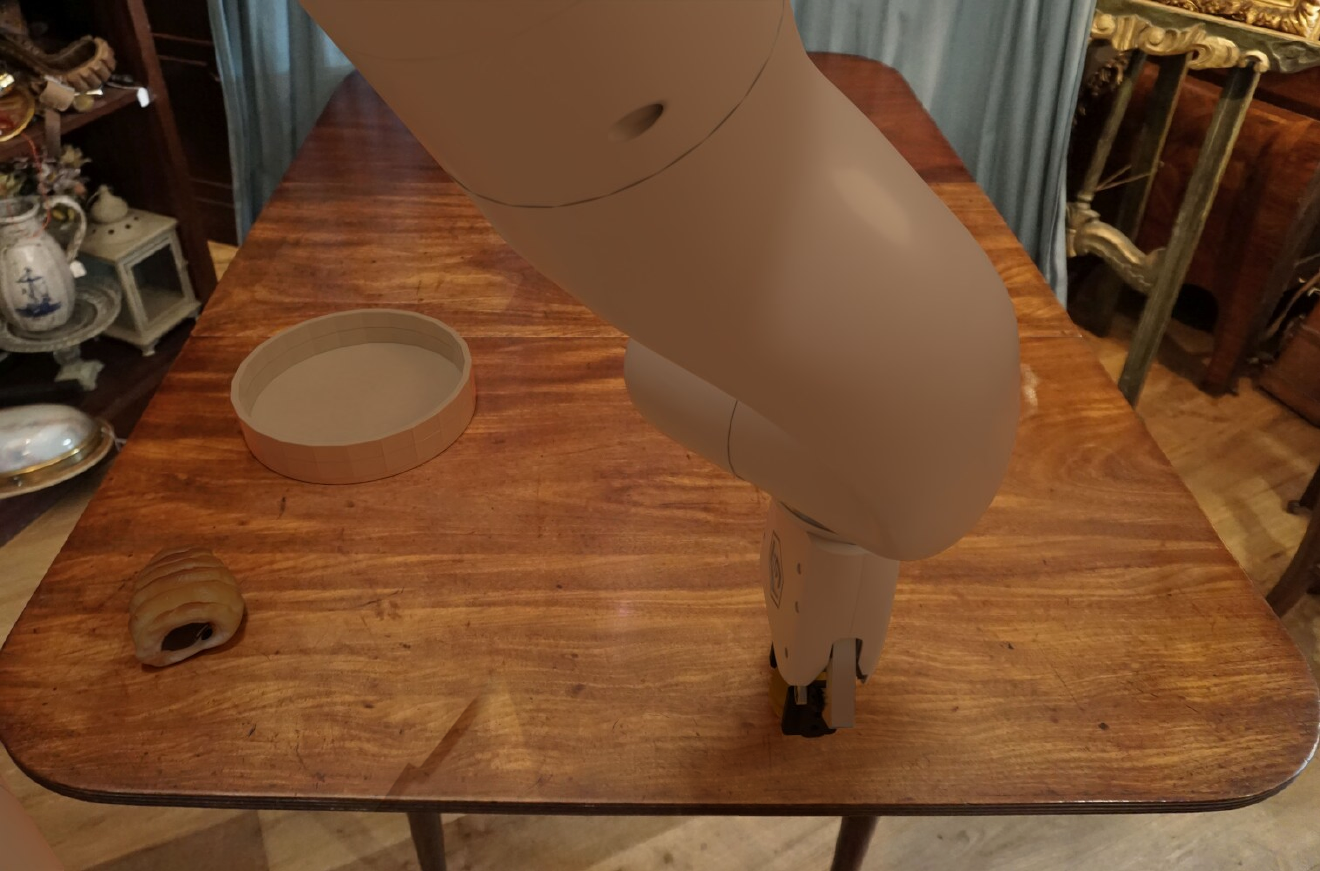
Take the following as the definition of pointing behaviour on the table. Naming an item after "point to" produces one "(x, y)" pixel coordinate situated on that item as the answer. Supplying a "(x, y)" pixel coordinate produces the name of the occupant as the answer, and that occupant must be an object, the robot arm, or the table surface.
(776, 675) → the chess piece
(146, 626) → the pastry
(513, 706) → the table surface
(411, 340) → the bowl
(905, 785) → the table surface
